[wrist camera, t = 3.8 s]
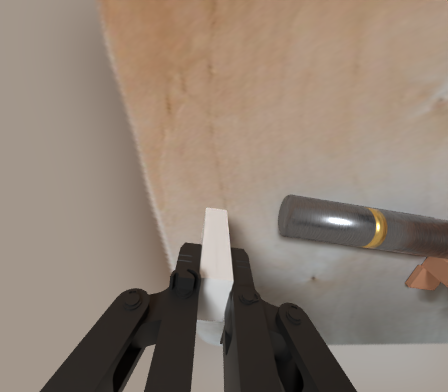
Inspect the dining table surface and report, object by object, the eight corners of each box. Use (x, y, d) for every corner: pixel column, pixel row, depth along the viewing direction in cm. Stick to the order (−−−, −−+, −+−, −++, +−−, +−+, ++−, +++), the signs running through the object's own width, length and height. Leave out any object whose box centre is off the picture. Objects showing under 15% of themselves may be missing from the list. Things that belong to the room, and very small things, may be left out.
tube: (275, 221, 21) (285, 245, 18) (286, 188, 19) (300, 207, 16) (420, 243, 22) (455, 268, 19) (441, 213, 21) (482, 235, 18)
